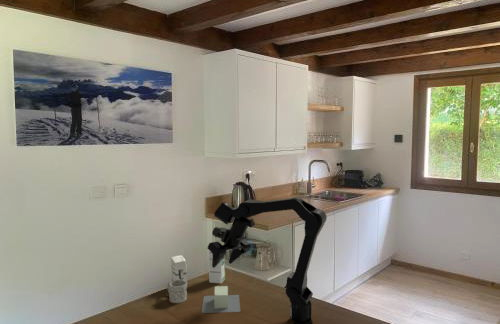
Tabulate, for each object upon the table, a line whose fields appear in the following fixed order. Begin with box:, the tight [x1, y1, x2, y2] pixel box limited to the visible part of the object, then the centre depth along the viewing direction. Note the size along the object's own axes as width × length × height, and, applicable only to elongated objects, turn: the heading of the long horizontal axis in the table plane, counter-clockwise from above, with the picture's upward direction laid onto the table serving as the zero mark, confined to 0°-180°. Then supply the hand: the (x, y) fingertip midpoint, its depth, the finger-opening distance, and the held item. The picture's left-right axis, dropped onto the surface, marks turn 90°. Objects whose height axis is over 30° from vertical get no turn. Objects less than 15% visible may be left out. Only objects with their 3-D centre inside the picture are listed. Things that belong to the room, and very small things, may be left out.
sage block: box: [213, 285, 229, 309], centre depth 139 cm, size 5×8×5 cm, turn 4°
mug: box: [167, 280, 188, 304], centre depth 143 cm, size 10×7×7 cm
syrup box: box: [208, 249, 226, 284], centre depth 160 cm, size 6×6×14 cm
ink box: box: [170, 254, 188, 283], centre depth 155 cm, size 9×5×12 cm, turn 25°
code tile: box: [201, 294, 241, 314], centre depth 139 cm, size 14×14×1 cm
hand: (221, 265), depth 139 cm, fingers open, 9 cm apart
